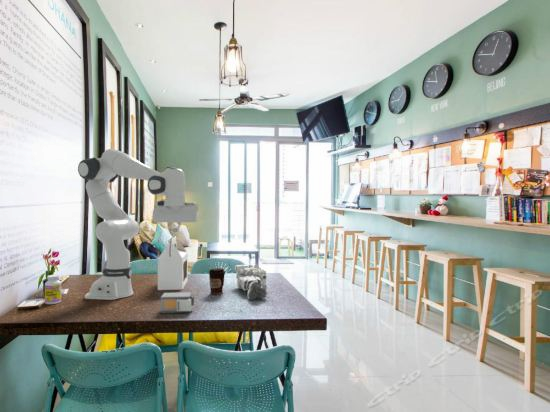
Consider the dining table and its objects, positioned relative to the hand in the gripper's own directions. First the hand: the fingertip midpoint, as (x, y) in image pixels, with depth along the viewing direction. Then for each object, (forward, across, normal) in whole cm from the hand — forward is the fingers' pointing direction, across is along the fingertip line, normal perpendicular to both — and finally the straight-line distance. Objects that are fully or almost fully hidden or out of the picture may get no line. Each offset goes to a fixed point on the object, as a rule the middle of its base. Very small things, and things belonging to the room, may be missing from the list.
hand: (175, 232), depth 167 cm
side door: (+33, -6, +13) cm, 36 cm away
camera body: (+34, -2, +8) cm, 35 cm away
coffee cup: (+34, -18, -20) cm, 44 cm away
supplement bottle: (+34, +58, -8) cm, 68 cm away
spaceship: (+34, -37, -21) cm, 55 cm away
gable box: (+34, +8, -40) cm, 53 cm away
